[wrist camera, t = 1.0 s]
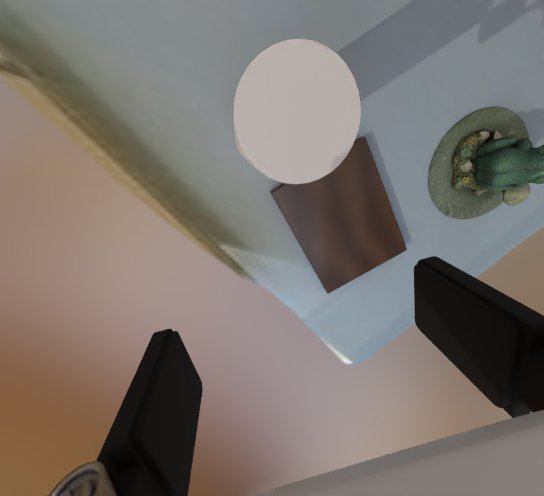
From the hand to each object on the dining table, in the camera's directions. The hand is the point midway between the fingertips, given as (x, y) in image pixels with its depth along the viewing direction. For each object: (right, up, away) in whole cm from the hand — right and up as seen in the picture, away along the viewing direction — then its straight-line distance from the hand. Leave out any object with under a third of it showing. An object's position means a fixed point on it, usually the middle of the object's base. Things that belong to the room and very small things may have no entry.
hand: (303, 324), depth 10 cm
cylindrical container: (-3, +19, +28) cm, 34 cm away
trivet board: (+11, +7, +34) cm, 36 cm away
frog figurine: (+34, +17, +34) cm, 50 cm away
